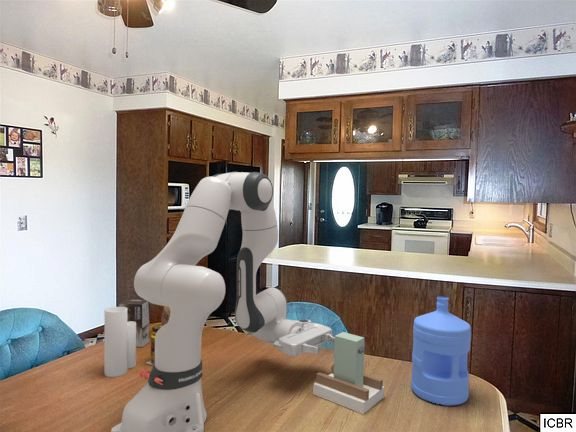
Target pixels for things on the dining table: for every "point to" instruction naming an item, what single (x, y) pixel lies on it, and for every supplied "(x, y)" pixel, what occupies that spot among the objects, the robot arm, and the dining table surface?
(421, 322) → the water jug
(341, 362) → the sage cabinet
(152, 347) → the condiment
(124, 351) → the vase
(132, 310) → the coffee box
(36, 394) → the dining table surface
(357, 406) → the cleat board
